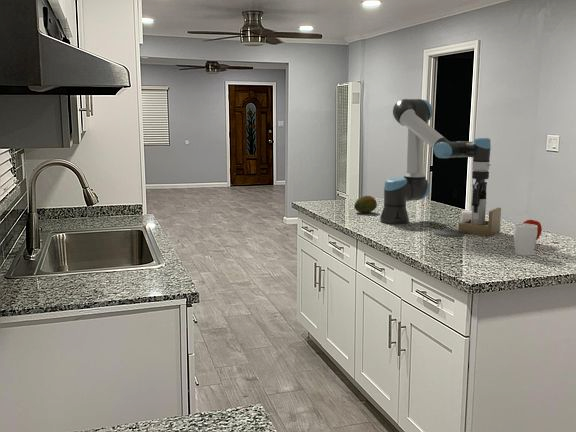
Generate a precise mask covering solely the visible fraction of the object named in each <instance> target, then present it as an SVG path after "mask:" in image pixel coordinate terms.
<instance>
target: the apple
mask: <svg viewBox="0 0 576 432" xmlns="http://www.w3.org/2000/svg"><path fill="white" fill-rule="evenodd" d="M522 224H533V225H537V238H536V241H537V240H538V239H539V238H540V236H541V235H542V232H543V231H542V230H543V228H542V224H541V222H539V221H538V220H535V219H527V220H525V221H523V223H522Z"/></svg>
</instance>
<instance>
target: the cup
mask: <svg viewBox="0 0 576 432" xmlns="http://www.w3.org/2000/svg"><path fill="white" fill-rule="evenodd" d="M536 238H537V225H533V224H523V223H515V224H514V225H513V243H514V244H513V245H514V253H515V255H516V256H520V255H521V256H523V257H531V256H533V254H534V251H535V246H536V242H537V240H536Z"/></svg>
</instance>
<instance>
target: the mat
mask: <svg viewBox="0 0 576 432" xmlns="http://www.w3.org/2000/svg"><path fill="white" fill-rule="evenodd" d="M433 233H434V235H435V236H441V237H446V238H447V237H449V238H457V237H459V238H460V237H463V236H465V235H466V234H465V233H460V232H459V230H454V229H453V230H452V229H451V230H450V229H442V230H441V229H440V230H439V229H438V230H435V231H434V232H433Z"/></svg>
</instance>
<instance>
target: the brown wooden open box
mask: <svg viewBox="0 0 576 432" xmlns="http://www.w3.org/2000/svg"><path fill="white" fill-rule="evenodd" d="M501 217H502V208H501V207H496V208H494V209H491V210H489V211H488V220H485V225H478V224H471V219H467V220H465V221H463V222H461V221H460V222H459V223H458V231H459V232H460V233H465V235H470V236H478V237H480V236H481V237H489V238H491V237H493V236H495V235H498V234H499V233H500V232H501V220H502V219H501Z"/></svg>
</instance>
